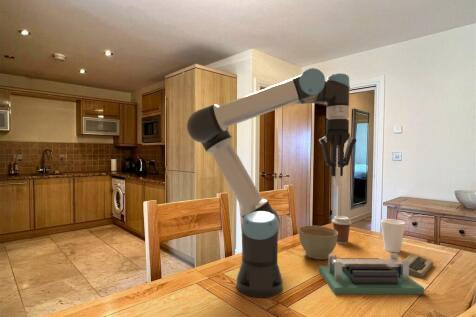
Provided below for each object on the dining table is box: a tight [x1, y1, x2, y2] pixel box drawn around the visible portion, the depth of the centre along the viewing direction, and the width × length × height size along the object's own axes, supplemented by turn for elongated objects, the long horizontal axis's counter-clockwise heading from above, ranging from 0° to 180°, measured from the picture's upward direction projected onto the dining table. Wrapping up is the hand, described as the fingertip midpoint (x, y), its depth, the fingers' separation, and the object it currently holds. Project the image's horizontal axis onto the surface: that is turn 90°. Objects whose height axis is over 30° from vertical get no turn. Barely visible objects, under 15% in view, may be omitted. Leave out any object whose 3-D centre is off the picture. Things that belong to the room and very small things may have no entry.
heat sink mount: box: [327, 252, 410, 285], centre depth 92 cm, size 24×12×8 cm, turn 90°
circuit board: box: [318, 265, 425, 295], centre depth 92 cm, size 28×16×2 cm, turn 90°
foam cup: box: [380, 218, 406, 254], centre depth 122 cm, size 10×9×13 cm
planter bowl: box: [298, 225, 338, 260], centre depth 115 cm, size 16×16×11 cm
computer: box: [404, 253, 434, 279], centre depth 103 cm, size 16×8×3 cm, turn 133°
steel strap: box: [331, 258, 401, 267], centre depth 92 cm, size 23×4×2 cm, turn 90°
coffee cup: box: [331, 215, 352, 245], centre depth 133 cm, size 9×9×12 cm
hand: (336, 185), depth 96 cm, fingers closed
